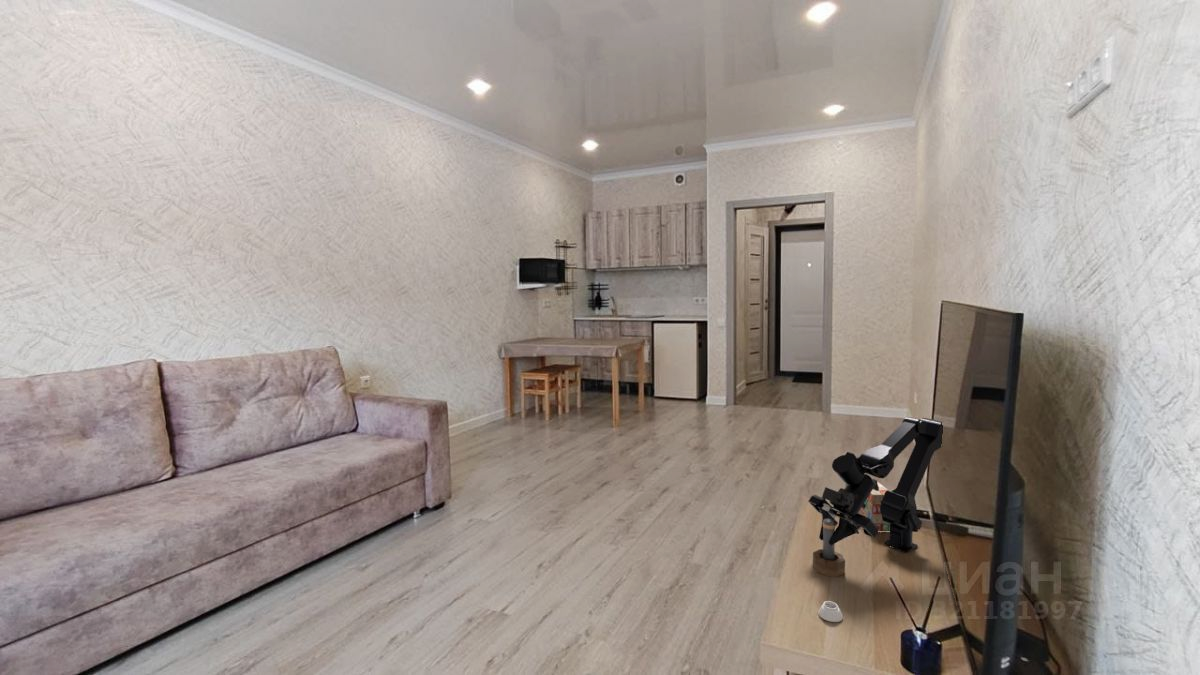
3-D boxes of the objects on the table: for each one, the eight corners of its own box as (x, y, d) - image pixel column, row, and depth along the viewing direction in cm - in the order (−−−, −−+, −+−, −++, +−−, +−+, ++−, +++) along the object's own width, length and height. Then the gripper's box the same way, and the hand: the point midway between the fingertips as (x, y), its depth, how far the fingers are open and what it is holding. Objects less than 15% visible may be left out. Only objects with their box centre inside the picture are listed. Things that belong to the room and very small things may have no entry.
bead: (824, 559, 148) (824, 547, 148) (849, 570, 142) (849, 558, 142) (807, 567, 144) (807, 554, 144) (832, 579, 138) (832, 566, 138)
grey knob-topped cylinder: (831, 561, 144) (831, 518, 143) (836, 566, 142) (837, 523, 140) (820, 561, 144) (820, 518, 143) (825, 567, 141) (826, 523, 140)
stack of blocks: (844, 505, 185) (845, 470, 183) (863, 505, 184) (864, 470, 183) (871, 533, 163) (872, 493, 162) (892, 533, 163) (893, 494, 162)
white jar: (835, 609, 125) (814, 611, 125) (835, 597, 125) (814, 599, 125) (846, 623, 120) (825, 624, 120) (847, 610, 120) (825, 611, 120)
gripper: (813, 466, 151) (783, 512, 147) (871, 488, 134) (838, 540, 130) (833, 488, 155) (804, 533, 151) (892, 512, 138) (860, 563, 134)
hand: (825, 541), depth 142 cm, fingers closed on grey knob-topped cylinder, 3 cm apart
